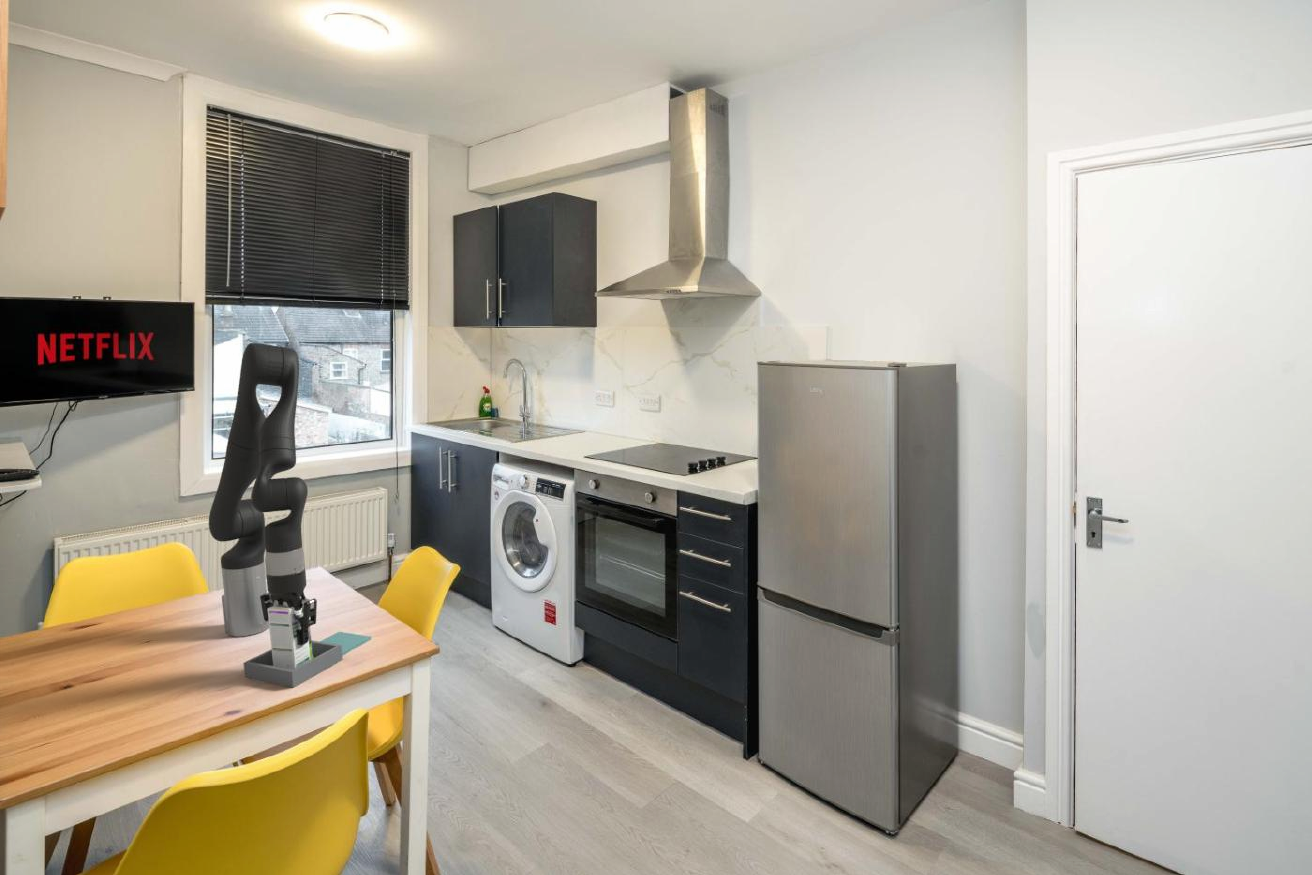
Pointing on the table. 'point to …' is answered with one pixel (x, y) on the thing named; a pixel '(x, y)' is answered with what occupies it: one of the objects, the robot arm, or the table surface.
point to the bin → (266, 672)
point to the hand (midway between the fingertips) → (291, 641)
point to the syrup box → (287, 638)
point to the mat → (347, 640)
